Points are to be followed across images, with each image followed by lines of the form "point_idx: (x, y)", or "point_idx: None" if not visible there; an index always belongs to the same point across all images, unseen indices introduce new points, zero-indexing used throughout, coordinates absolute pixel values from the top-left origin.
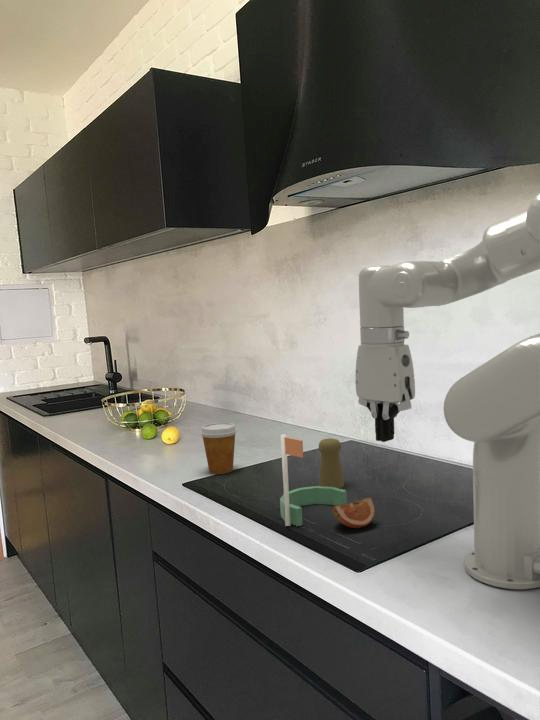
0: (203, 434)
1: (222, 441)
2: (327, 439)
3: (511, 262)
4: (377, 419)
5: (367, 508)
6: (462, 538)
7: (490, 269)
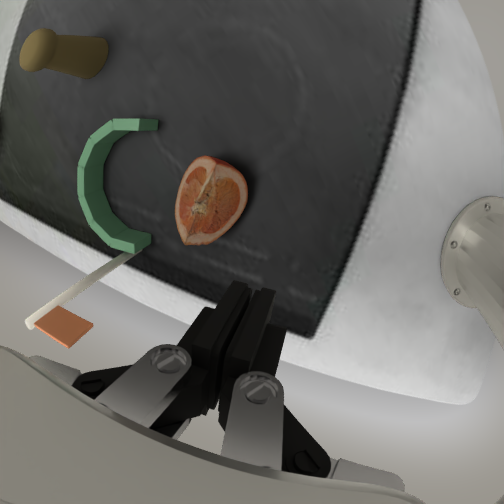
0: None
1: None
2: (24, 52)
3: None
4: (205, 414)
5: (228, 186)
6: (416, 157)
7: None
